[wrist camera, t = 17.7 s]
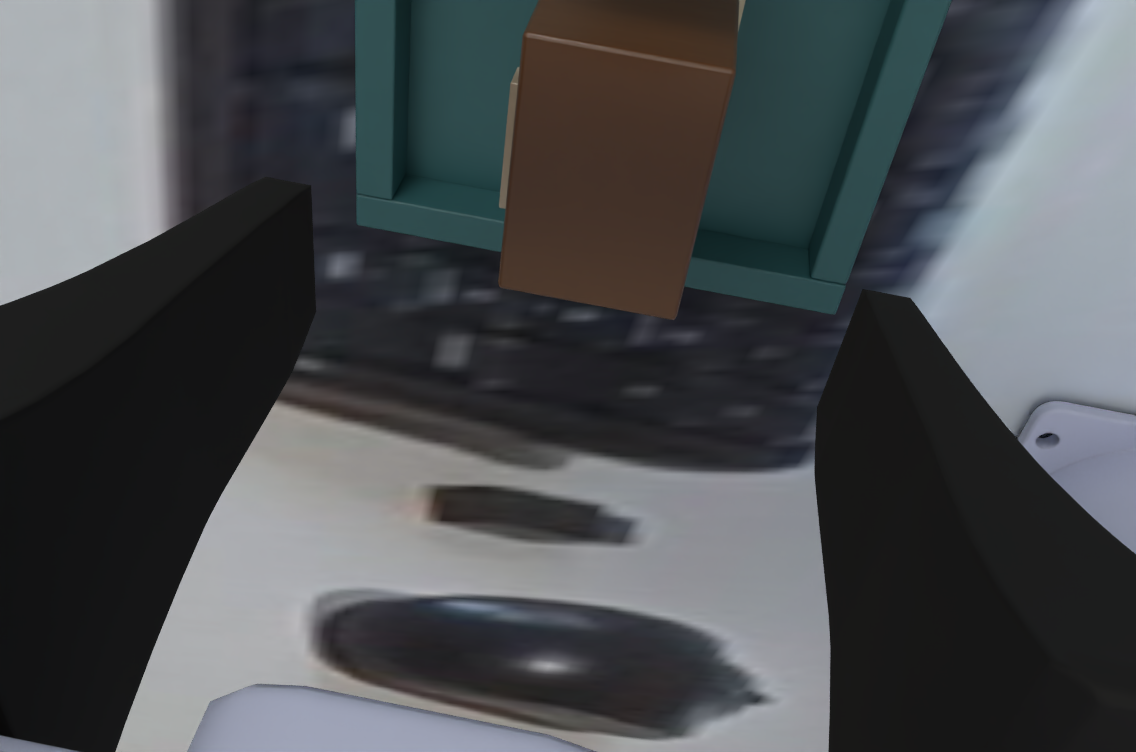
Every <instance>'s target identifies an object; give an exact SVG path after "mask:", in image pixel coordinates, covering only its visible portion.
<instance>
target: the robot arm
mask: <svg viewBox="0 0 1136 752" xmlns="http://www.w3.org/2000/svg"><path fill="white" fill-rule="evenodd" d="M315 313H316V300H315V274H314V249H313V223H312V198H311V185H305V184H300V183H295V182H289V181H284V180H279V179H273V178H268V177H264V178H262V179H260V180H258V181H256V182H254V183H252V184H250V185H248V186H246V187H244V188H243V189H241V190H239V191H237V192H235V193H234V194H232V195H230V196H228V197H227V198H225V199H223V200H221V201H220V202H218V203H216V204H214V205H213V206H211V207H209V208H207V209H206V210H204V211H202V212H200V213H199V214H197V215H195V216H193V217H191V218H190V219H188V220H186V221H184V222H182V223H180V224H179V225H177V226H175V227H173V228H171V229H170V230H168V231H166V232H164V233H162V234H161V235H159V236H157V237H155V238H153V239H151V240H150V241H148V242H146V243H144V244H142V245H140V246H137V247H135V248H133V249H131V250H129V251H127V252H125V253H123V254H121V255H119V256H117V257H115V258H113V259H111V260H109V261H107V262H105V263H103V264H101V265H99V266H97V267H95V268H93V269H91V270H89V271H87V272H84V273H82V274H80V275H78V276H75V277H73V278H71V279H68V280H66V281H64V282H61V283H59V284H56V285H54V286H52V287H49V288H47V289H44V290H41V291H39V292H36V293H33V294H31V295H28V296H26V297H23V298H20V299H18V300H15V301H12V302H10V303H7V304H4V305H1V306H0V752H115V751H116V748H117V745H118V743H119V740H120V737H121V734H122V731H123V728H124V725H125V722H126V720H127V717H128V714H129V712H130V709H131V706H132V704H133V701H134V699H135V696H136V693H137V691H138V688H139V685H140V683H141V680H142V677H143V675H144V672H145V669H146V667H147V664H148V661H149V659H150V656H151V653H152V651H153V648H154V646H155V643H156V641H157V638H158V636H159V633H160V631H161V629H162V626H163V624H164V621H165V619H166V616H167V614H168V611H169V609H170V606H171V604H172V602H173V599H174V597H175V594H176V592H177V589H178V587H179V584H180V582H181V580H182V577H183V575H184V573H185V571H186V568H187V566H188V564H189V561H190V559H191V557H192V554H193V552H194V550H195V548H196V545H197V543H198V541H199V538H200V536H201V534H202V532H203V529H204V527H205V525H206V523H207V521H208V519H209V517H210V515H211V513H212V511H213V509H214V507H215V505H216V503H217V502H218V500H219V498H220V496H221V494H222V492H223V491H224V489H225V487H226V486H227V484H228V482H229V480H230V479H231V477H232V475H233V474H234V472H235V470H236V468H237V467H238V465H239V463H240V462H241V460H242V458H243V456H244V455H245V453H246V451H247V450H248V448H249V446H250V444H251V443H252V441H253V439H254V438H255V436H256V434H257V432H258V431H259V429H260V427H261V426H262V424H263V422H264V421H265V419H266V417H267V415H268V414H269V412H270V410H271V408H272V407H273V405H274V403H275V401H276V400H277V398H278V396H279V394H280V393H281V391H282V389H283V387H284V386H285V384H286V382H287V380H288V378H289V377H290V375H291V373H292V371H293V368H294V366H295V364H296V361H297V359H298V356H299V354H300V352H301V349H302V347H303V344H304V342H305V339H306V336H307V334H308V331H309V328H310V326H311V323H312V321H313V318H314V315H315ZM1045 433H1053V434H1052V435H1051V436H1049V437H1046V438H1039V436H1040V435H1042V434H1045ZM815 484H816V495H817V505H818V516H819V526H820V535H821V545H822V554H823V564H824V574H825V583H826V593H827V602H828V612H829V626H830V645H831V660H830V725H829V752H1136V415H1131V414H1126V413H1121V412H1116V411H1110V410H1105V409H1100V408H1094V407H1089V406H1084V405H1079V404H1073V403H1068V402H1063V401H1051V402H1047V403H1044V404H1042V405H1040V406H1039V407H1037V408H1036V409H1035V410H1034V412H1033V413H1032V415H1031V416H1030V418H1029V420H1028V422H1027V423H1026V425H1025V427H1024V429H1023V430H1022V432H1021V434H1020V435H1019V437H1018V439H1017V438H1016V437H1015V436H1014V435H1013V434H1012V433H1011V431H1010V430H1009V429H1008V428H1007V427H1006V426H1005V424H1004V423H1003V422H1002V421H1001V419H1000V418H999V417H998V416H997V414H996V413H995V412H994V411H993V410H992V408H991V407H990V406H989V404H988V403H987V402H986V401H985V399H984V398H983V397H982V396H981V394H980V393H979V392H978V390H977V389H976V388H975V386H974V385H973V384H972V382H971V381H970V380H969V378H968V377H967V376H966V374H965V373H964V372H963V370H962V369H961V367H960V366H959V365H958V363H957V362H956V361H955V359H954V358H953V356H952V355H951V354H950V352H949V351H948V349H947V348H946V347H945V345H944V344H943V342H942V341H941V340H940V338H939V337H938V335H937V334H936V332H935V331H934V330H933V328H932V327H931V325H930V324H929V323H928V321H927V320H926V318H925V317H924V315H923V314H922V313H921V311H920V310H919V309H918V307H917V306H916V305H915V303H914V302H913V301H912V299H911V298H907V297H902V296H897V295H891V294H886V293H881V292H875V291H870V290H865V289H863V290H862V293H861V295H860V298H859V300H858V303H857V305H856V308H855V311H854V313H853V316H852V318H851V321H850V324H849V326H848V329H847V331H846V334H845V337H844V339H843V342H842V344H841V347H840V349H839V352H838V355H837V357H836V360H835V362H834V365H833V368H832V370H831V373H830V375H829V378H828V381H827V383H826V386H825V388H824V391H823V394H822V396H821V399H820V401H819V404H818V406H817V422H816V441H815ZM187 752H596V751H593V750H590V749H588V748H585V747H582V746H579V745H576V744H573V743H571V742H568V741H565V740H562V739H559V738H557V737H554V736H551V735H547V734H542V733H537V732H532V731H527V730H522V729H517V728H512V727H507V726H502V725H497V724H492V723H487V722H482V721H477V720H472V719H467V718H462V717H457V716H452V715H447V714H442V713H437V712H433V711H428V710H423V709H418V708H413V707H408V706H403V705H398V704H393V703H388V702H383V701H378V700H373V699H368V698H363V697H358V696H353V695H348V694H343V693H338V692H333V691H328V690H323V689H318V688H313V687H308V686H293V685H272V684H255V685H252V686H248V687H245V688H243V689H240V690H238V691H235V692H233V693H230V694H228V695H225V696H223V697H220V698H218V699H215V700H213V701H210V703H209V705H208V708H207V710H206V712H205V714H204V716H203V718H202V721H201V723H200V725H199V727H198V729H197V731H196V734H195V736H194V738H193V740H192V742H191V744H190V747H189V749H188V751H187Z"/></svg>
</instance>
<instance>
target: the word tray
mask: <svg viewBox="0 0 1136 752" xmlns="http://www.w3.org/2000/svg"><path fill="white" fill-rule="evenodd" d="M951 1H952V0H746V1H745V5H744V9H743V13H742V18H741V22H740V26H739V30H738V41H737V63H736V76H735V80H734V84H733V88H732V92H731V97H730V101H729V105H728V109H727V113H726V117H725V121H724V125H723V129H722V134H721V138H720V142H719V146H718V150H717V154H716V158H715V162H714V166H713V170H712V175H711V179H710V183H709V187H708V191H707V195H706V199H705V203H704V207H703V212H702V216H701V220H700V224H699V228H698V232H697V236H696V240H695V244H694V248H693V253H692V257H691V261H690V265H689V269H688V273H687V277H686V281H685V285H684V287H689V288H694V289H700V290H705V291H710V292H715V293H721V294H726V295H731V296H737V297H742V298H747V299H753V300H758V301H763V302H769V303H774V304H779V305H784V306H790V307H795V308H800V309H806V310H811V311H816V312H822V313H827V314H832V315H834V314H835V313H836V312H837V309H838V306H839V304H840V301H841V298H842V296H843V293H844V290H845V287H846V286H845V283H846V282H847V281H848V278H849V276H850V273H851V270H852V268H853V265H854V262H855V260H856V257H857V254H858V252H859V249H860V246H861V243H862V241H863V238H864V235H865V233H866V230H867V227H868V225H869V222H870V219H871V217H872V214H873V211H874V209H875V206H876V203H877V200H878V198H879V195H880V192H881V190H882V187H883V184H884V182H885V179H886V176H887V174H888V171H889V168H890V165H891V163H892V160H893V157H894V155H895V152H896V149H897V147H898V144H899V141H900V139H901V136H902V133H903V131H904V128H905V125H906V122H907V120H908V117H909V114H910V112H911V109H912V106H913V104H914V101H915V98H916V96H917V93H918V90H919V87H920V85H921V82H922V79H923V77H924V74H925V71H926V69H927V66H928V63H929V61H930V58H931V55H932V53H933V50H934V47H935V44H936V42H937V39H938V36H939V34H940V31H941V28H942V26H943V23H944V20H945V18H946V15H947V12H948V10H949V7H950V4H951ZM537 3H538V0H355V79H356V192H357V195H356V212H357V225H360V226H365V227H371V228H376V229H381V230H386V231H392V232H397V233H402V234H408V235H413V236H418V237H424V238H429V239H434V240H440V241H445V242H450V243H455V244H461V245H466V246H471V247H477V248H482V249H487V250H493V251H498V252H501V249H502V239H503V229H504V218H505V209H503V208H499V199H500V189H501V178H502V167H503V157H504V146H505V136H506V125H507V114H508V104H509V93H510V83H511V81H512V79H513V76H514V74H515V72H516V69H517V67H520V57H521V47H522V37H523V34H524V31H525V29H526V27H527V25H528V22H529V20H530V18H531V16H532V14H533V11H534V9H535V7H536V5H537Z"/></svg>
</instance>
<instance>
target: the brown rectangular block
mask: <svg viewBox="0 0 1136 752" xmlns="http://www.w3.org/2000/svg"><path fill="white" fill-rule="evenodd" d="M738 19H739V0H538V3H537V5H536V7H535V9H534V11H533V14H532V16H531V18H530V20H529V22H528V25H527V27H526V29H525V31H524V34H523V37H522V47H521V57H520V67H517V69H516V72H515V74H514V76H513V79H512V81H511V83H510V93H509V104H508V114H507V125H506V136H505V146H504V157H503V167H502V178H501V189H500V199H499V208H503V209H505V218H504V229H503V239H502V249H501V259H500V269H499V279H498V283H499V287H501V288H505V289H510V290H515V291H521V292H526V293H531V294H537V295H542V296H547V297H553V298H558V299H563V300H569V301H574V302H579V303H585V304H590V305H596V306H601V307H606V308H612V309H617V310H622V311H628V312H633V313H638V314H644V315H649V316H654V317H660V318H665V319H670V320H673V319H675V318H676V317H677V314H678V310H679V306H680V302H681V298H682V294H683V290H684V285H685V281H686V277H687V273H688V269H689V265H690V261H691V257H692V253H693V248H694V244H695V240H696V236H697V232H698V228H699V224H700V220H701V216H702V212H703V207H704V203H705V199H706V195H707V191H708V187H709V183H710V179H711V175H712V170H713V166H714V162H715V158H716V154H717V150H718V146H719V142H720V138H721V134H722V129H723V125H724V121H725V117H726V113H727V109H728V105H729V101H730V97H731V92H732V88H733V84H734V80H735V76H736V63H737V41H738Z"/></svg>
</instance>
